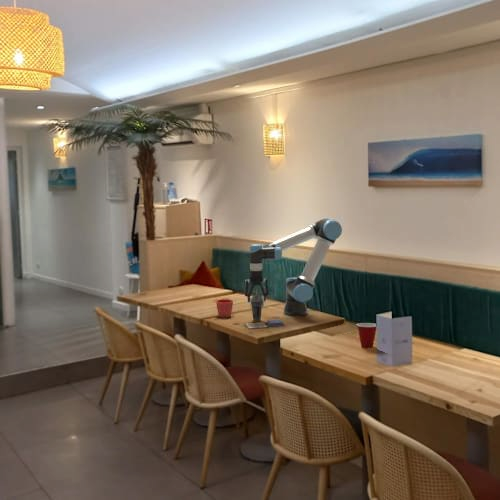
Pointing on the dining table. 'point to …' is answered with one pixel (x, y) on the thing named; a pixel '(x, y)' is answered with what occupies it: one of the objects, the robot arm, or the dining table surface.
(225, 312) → the flower pot
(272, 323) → the ink pad
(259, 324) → the marked board
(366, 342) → the plastic cup
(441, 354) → the dining table surface
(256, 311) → the beverage cup
